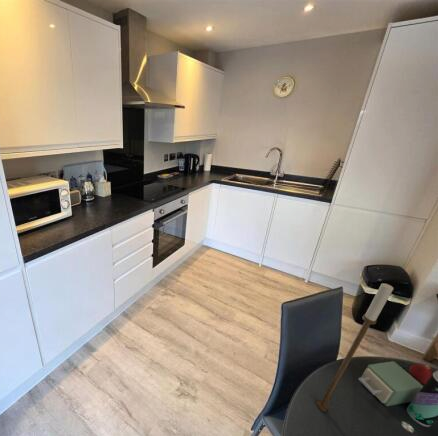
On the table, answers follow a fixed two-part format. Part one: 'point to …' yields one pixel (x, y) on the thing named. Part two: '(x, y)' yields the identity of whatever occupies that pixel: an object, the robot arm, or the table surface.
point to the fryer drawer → (376, 385)
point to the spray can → (425, 403)
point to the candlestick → (345, 363)
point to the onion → (421, 373)
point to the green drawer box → (397, 382)
